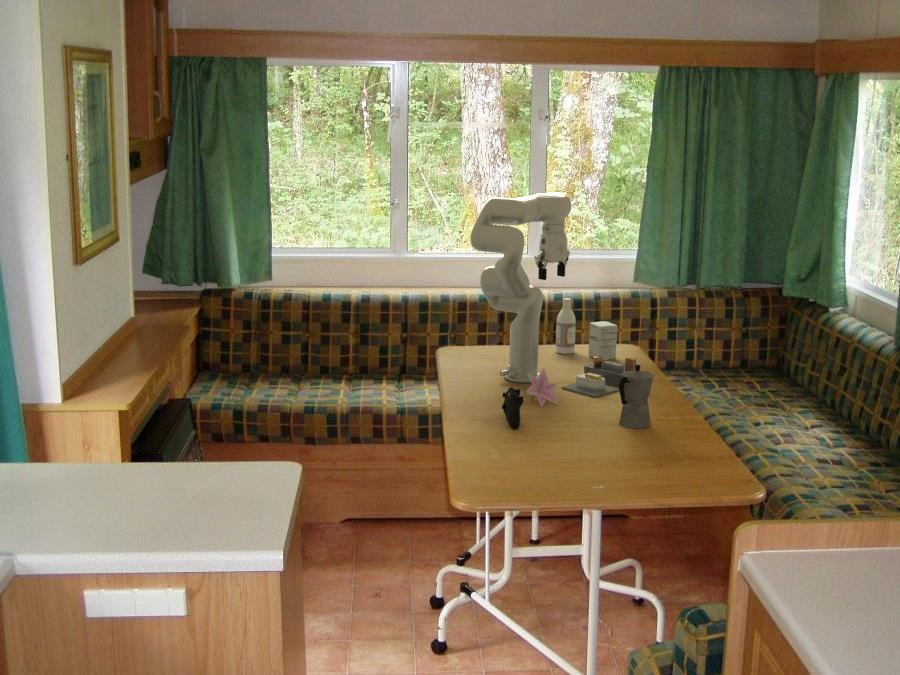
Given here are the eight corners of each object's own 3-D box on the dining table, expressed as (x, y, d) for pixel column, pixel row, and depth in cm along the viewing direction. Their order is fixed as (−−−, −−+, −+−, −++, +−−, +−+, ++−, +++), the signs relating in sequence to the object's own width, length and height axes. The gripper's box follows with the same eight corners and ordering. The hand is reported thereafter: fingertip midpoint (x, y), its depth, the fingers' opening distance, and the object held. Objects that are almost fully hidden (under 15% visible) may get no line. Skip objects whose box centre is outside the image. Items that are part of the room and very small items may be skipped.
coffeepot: (633, 416, 334) (636, 357, 330) (660, 423, 328) (664, 363, 324) (603, 427, 323) (606, 367, 319) (631, 434, 317) (634, 373, 313)
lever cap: (595, 391, 357) (596, 378, 356) (575, 386, 363) (576, 373, 362) (604, 389, 360) (605, 375, 359) (585, 384, 366) (585, 370, 365)
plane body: (626, 388, 363) (628, 361, 361) (583, 377, 376) (584, 351, 374) (641, 384, 369) (643, 357, 367) (598, 373, 381) (600, 347, 379)
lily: (519, 410, 342) (532, 387, 337) (513, 386, 351) (526, 363, 346) (553, 419, 346) (567, 396, 341) (546, 395, 355) (560, 372, 350)
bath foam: (564, 355, 405) (566, 301, 400) (551, 351, 411) (553, 298, 406) (578, 353, 409) (580, 299, 404) (565, 349, 415) (567, 296, 410)
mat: (595, 397, 353) (595, 396, 353) (561, 388, 362) (561, 386, 362) (619, 390, 361) (619, 389, 361) (585, 382, 371) (585, 380, 370)
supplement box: (587, 356, 404) (589, 322, 402) (605, 354, 408) (606, 320, 405) (598, 361, 398) (600, 326, 395) (616, 359, 401) (618, 324, 398)
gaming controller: (498, 416, 333) (498, 383, 331) (518, 415, 333) (519, 383, 331) (503, 430, 319) (504, 397, 317) (524, 430, 320) (525, 396, 317)
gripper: (544, 232, 375) (543, 282, 379) (578, 227, 387) (576, 276, 391) (528, 229, 381) (526, 279, 385) (561, 225, 392) (559, 273, 396)
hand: (551, 277), depth 388 cm, fingers open, 9 cm apart
